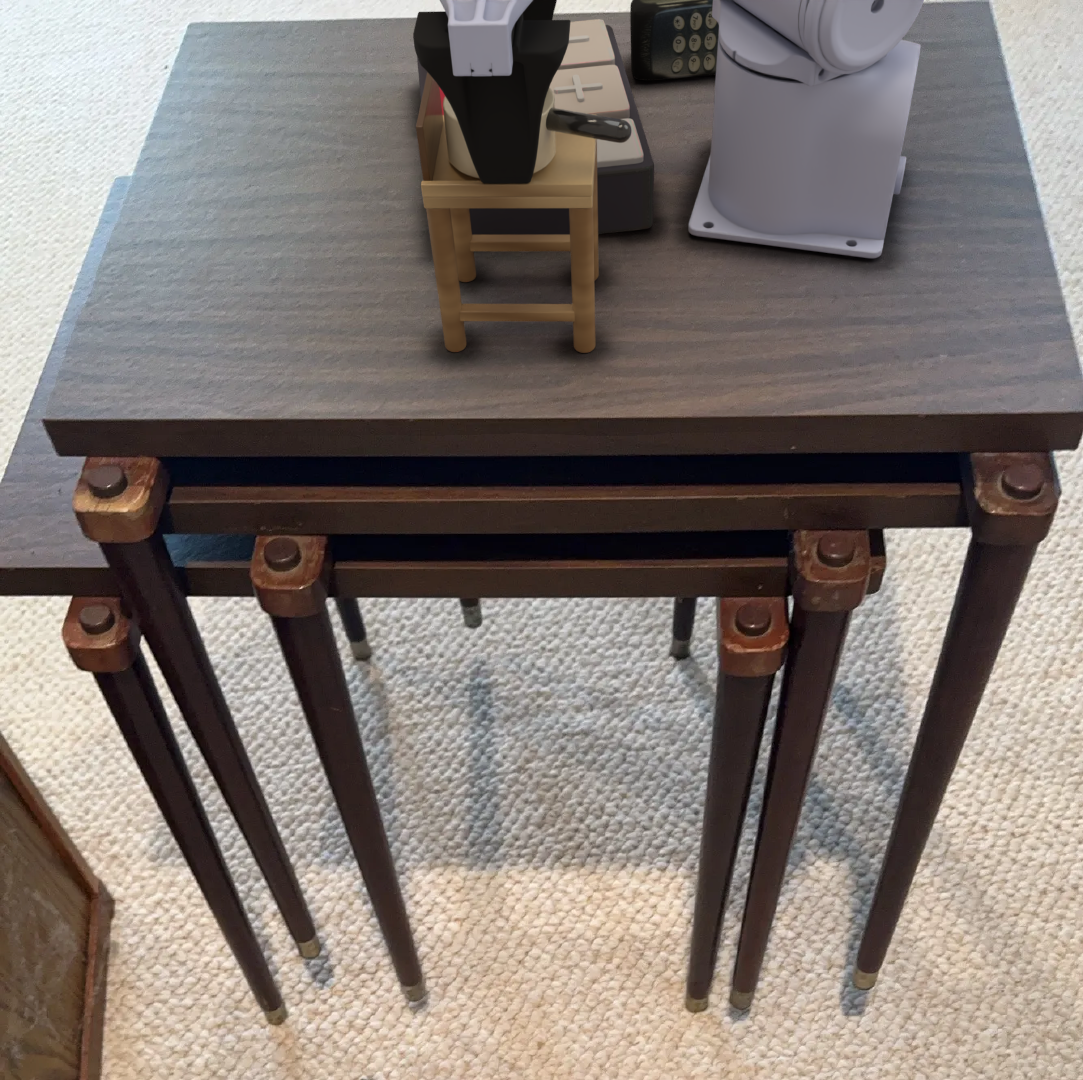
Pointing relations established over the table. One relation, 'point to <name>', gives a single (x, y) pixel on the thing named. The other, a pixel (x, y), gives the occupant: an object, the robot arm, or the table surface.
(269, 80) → the table surface
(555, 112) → the pan
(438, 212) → the stand
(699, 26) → the mobile phone
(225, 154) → the table surface
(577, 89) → the calculator
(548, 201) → the wooden l-shaped block
